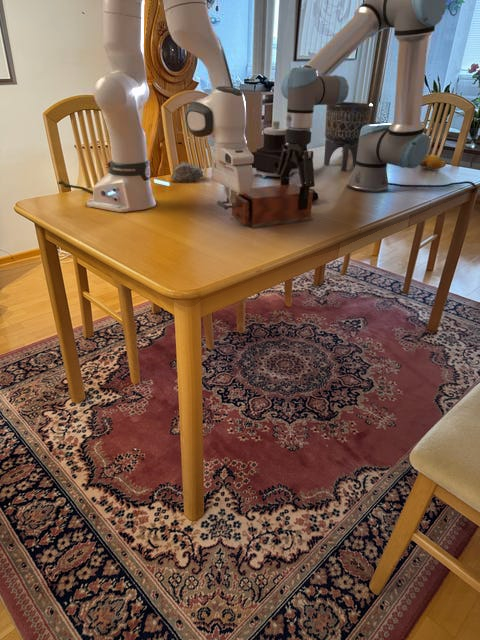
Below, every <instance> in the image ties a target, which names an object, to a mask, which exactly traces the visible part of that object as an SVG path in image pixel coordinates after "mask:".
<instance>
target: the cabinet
mask: <svg viewBox="0 0 480 640" xmlns="http://www.w3.org/2000/svg"><path fill="white" fill-rule="evenodd" d="M301 186H302V185H299V184H296V183H289V184H288V185H281V184H279V185H278V184H277V185H270V186H260V187H252V189H251V191H250V193H246V194H239V193H237V195H238V196H240V197H241V195H243V196H245V197H247V198H248V199H250V200H252V221H250V220H249V224H247V225H248V226H250V227H251V228H260V227H268V226H276V225H282V224H288V223H296V222H297V223H298V222H304V221H311V218H312V208H313V201H312V198H313V192H312V191H310V190H309V197H308V204H307V209H302V210H299V209H298V205H299V193H300V187H301Z"/></svg>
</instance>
